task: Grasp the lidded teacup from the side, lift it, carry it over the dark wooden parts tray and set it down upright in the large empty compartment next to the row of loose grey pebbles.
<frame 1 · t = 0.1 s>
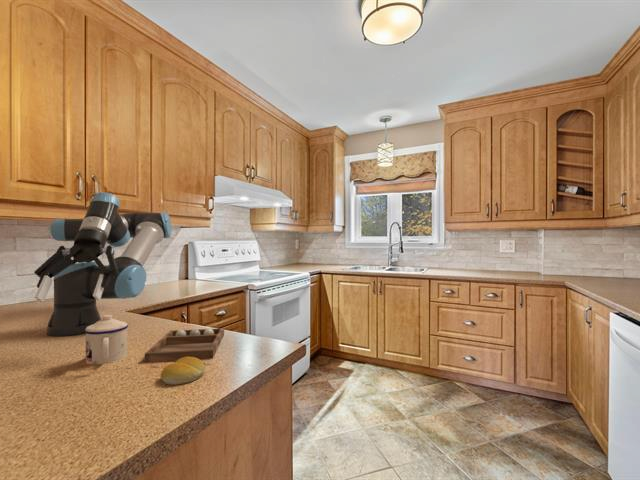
hand: (67, 299, 84), 15 cm above the worktop, tool tilted 35°, fingers open, 13 cm apart
pebble a: (180, 340, 95), point 1 cm above the worktop, touching parts tray
pebble b: (194, 339, 96), point 1 cm above the worktop, touching parts tray
teacup with lid: (106, 364, 79), on the worktop
bread roll: (183, 378, 72), on the worktop
pebble c: (208, 338, 96), point 1 cm above the worktop, touching parts tray
parts tray: (189, 350, 89), on the worktop
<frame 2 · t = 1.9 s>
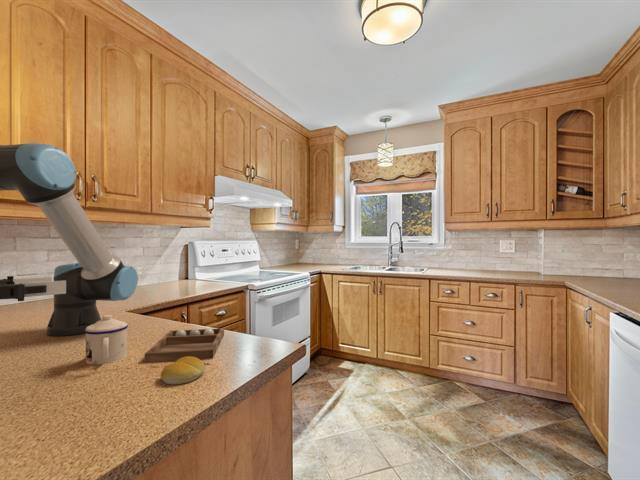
hand: (58, 284, 72), 21 cm above the worktop, tool horizontal, fingers open, 13 cm apart
nothing on the worktop moved.
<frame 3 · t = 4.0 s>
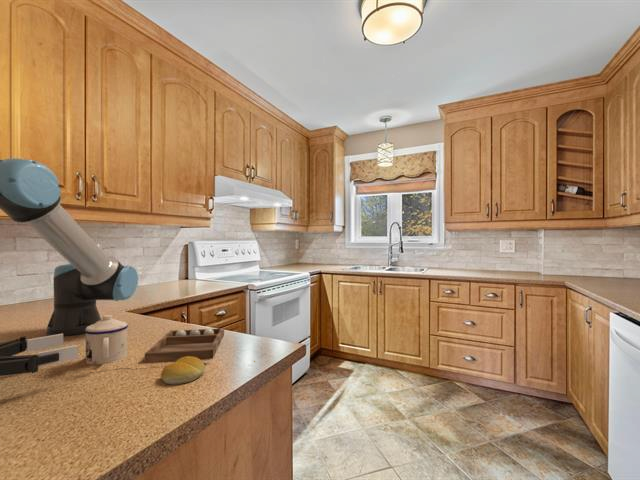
hand: (70, 345, 73), 6 cm above the worktop, tool horizontal, fingers open, 13 cm apart
nothing on the worktop moved.
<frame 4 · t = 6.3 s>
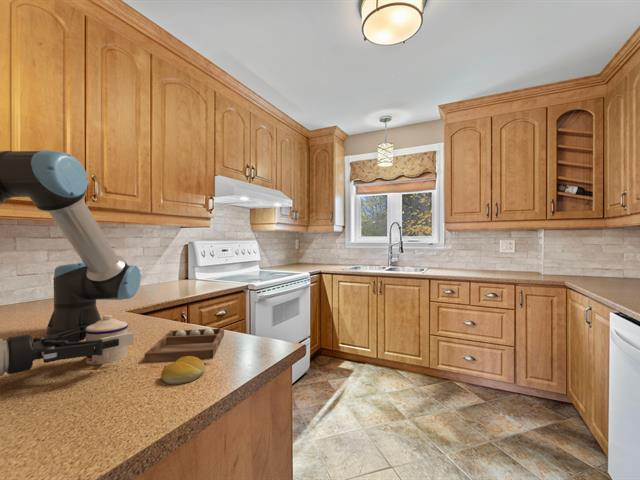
hand: (123, 333, 82), 7 cm above the worktop, tool horizontal, fingers closed on teacup with lid, 12 cm apart
teacup with lid: (106, 364, 79), on the worktop, touching gripper
everything else where it was.
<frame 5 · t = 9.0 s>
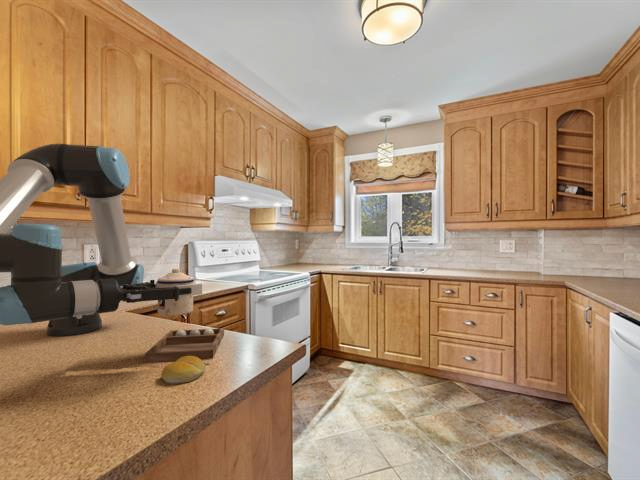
hand: (190, 286, 87), 18 cm above the worktop, tool horizontal, fingers closed on teacup with lid, 12 cm apart
teacup with lid: (176, 314, 84), point 11 cm above the worktop, touching gripper
everything else where it was.
when the fingers open (9 cm above the worktop, at t = 12.0 s): teacup with lid drops 1 cm, resting on parts tray.
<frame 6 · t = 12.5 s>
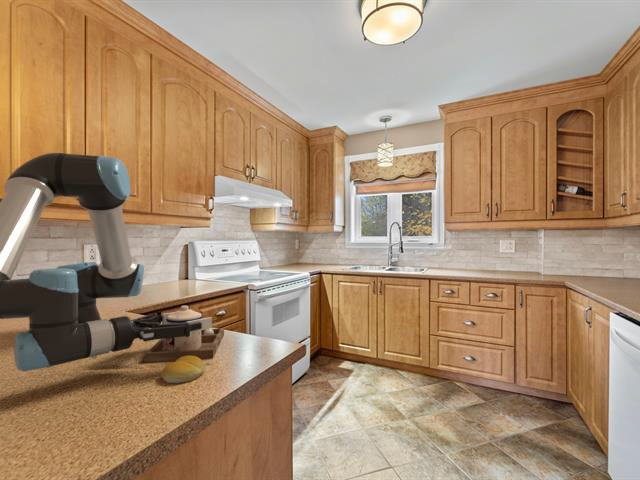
hand: (197, 318, 88), 9 cm above the worktop, tool horizontal, fingers open, 13 cm apart
teacup with lid: (185, 351, 86), point 1 cm above the worktop, touching parts tray
everything else where it was.
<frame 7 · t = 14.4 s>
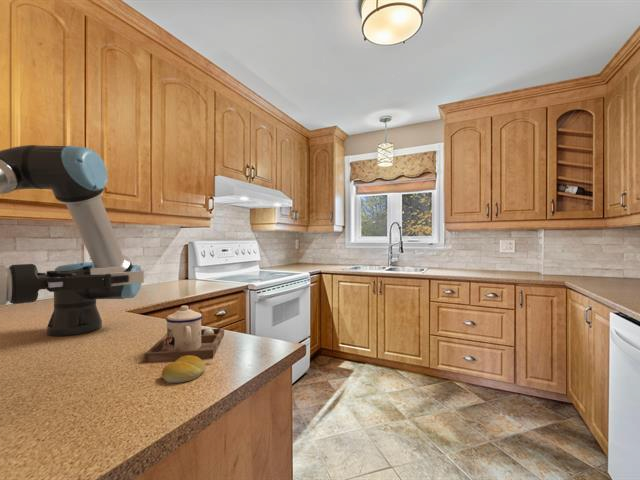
hand: (131, 274, 77), 22 cm above the worktop, tool horizontal, fingers open, 13 cm apart
nothing on the worktop moved.
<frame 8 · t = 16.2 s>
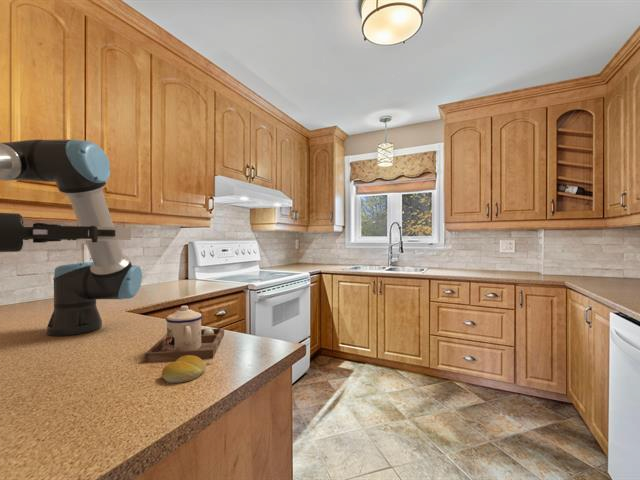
hand: (119, 234, 77), 32 cm above the worktop, tool horizontal, fingers open, 13 cm apart
nothing on the worktop moved.
at the end: teacup with lid inside the target area on the parts tray (0.6 cm from its centre), point 0.8 cm above the parts tray's base; teacup with lid tilted 0°; the gripper is holding nothing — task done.
